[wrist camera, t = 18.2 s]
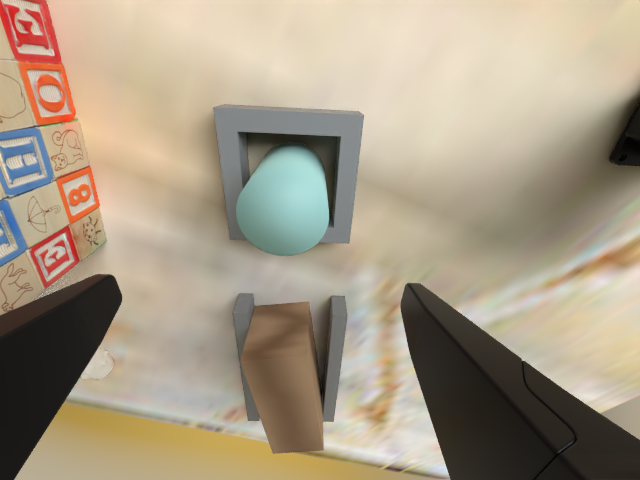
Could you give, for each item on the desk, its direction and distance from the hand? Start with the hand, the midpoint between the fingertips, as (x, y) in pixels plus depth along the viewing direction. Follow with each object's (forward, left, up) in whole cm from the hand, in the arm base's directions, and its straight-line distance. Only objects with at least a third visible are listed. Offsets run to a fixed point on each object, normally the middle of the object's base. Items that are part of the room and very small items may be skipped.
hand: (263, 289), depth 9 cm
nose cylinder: (0, 0, -12) cm, 13 cm away
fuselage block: (0, +19, -13) cm, 23 cm away
